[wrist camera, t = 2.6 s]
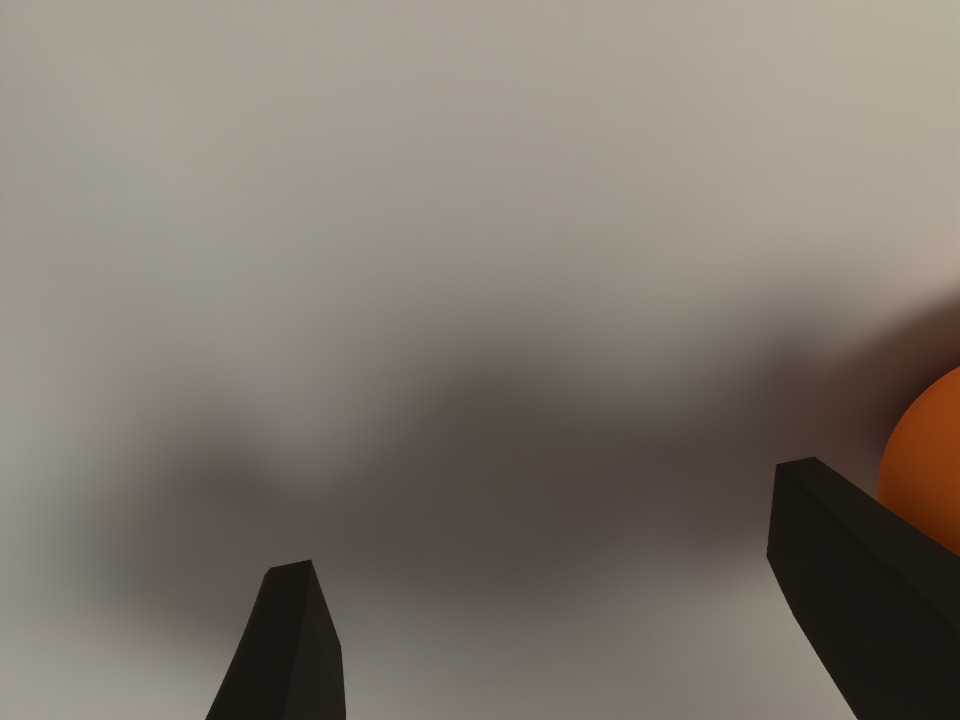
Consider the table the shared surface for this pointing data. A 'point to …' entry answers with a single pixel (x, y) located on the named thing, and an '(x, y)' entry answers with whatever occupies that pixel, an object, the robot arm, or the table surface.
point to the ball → (927, 464)
